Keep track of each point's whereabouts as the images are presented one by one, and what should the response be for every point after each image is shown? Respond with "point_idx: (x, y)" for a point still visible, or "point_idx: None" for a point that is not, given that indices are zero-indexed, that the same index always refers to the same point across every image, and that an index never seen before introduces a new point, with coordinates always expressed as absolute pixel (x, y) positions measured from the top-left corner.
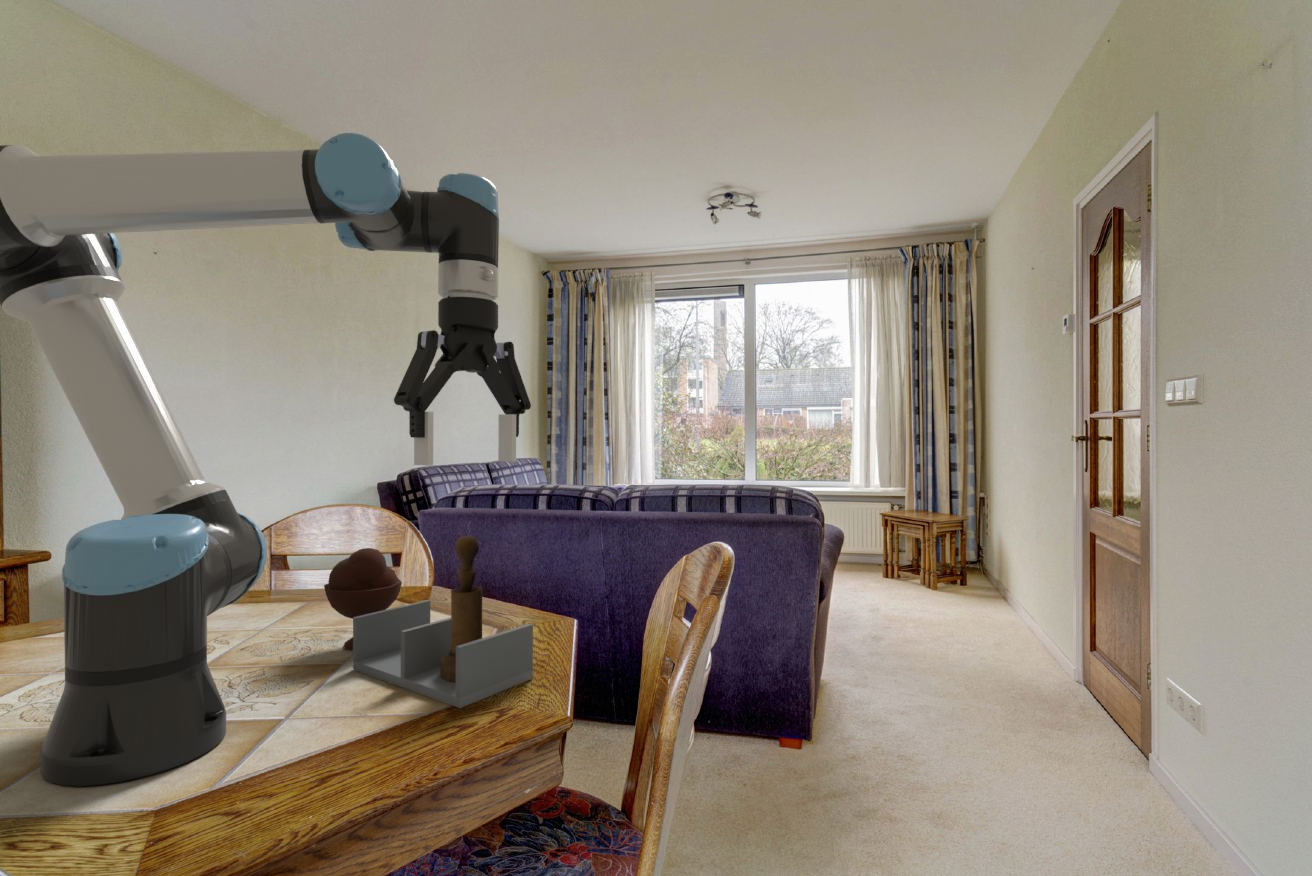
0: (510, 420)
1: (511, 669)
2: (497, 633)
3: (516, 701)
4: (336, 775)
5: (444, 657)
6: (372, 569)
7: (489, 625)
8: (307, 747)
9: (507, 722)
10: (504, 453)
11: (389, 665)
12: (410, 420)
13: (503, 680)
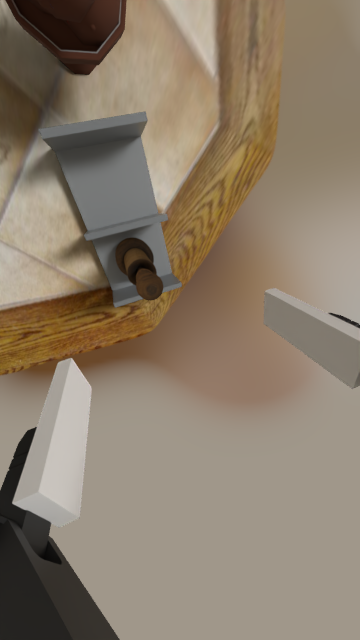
0: (336, 372)
1: None
2: None
3: (145, 301)
4: (32, 333)
5: (118, 255)
6: (64, 12)
7: (220, 104)
8: (14, 294)
9: (129, 322)
10: (274, 313)
11: (84, 191)
12: (5, 489)
13: None
